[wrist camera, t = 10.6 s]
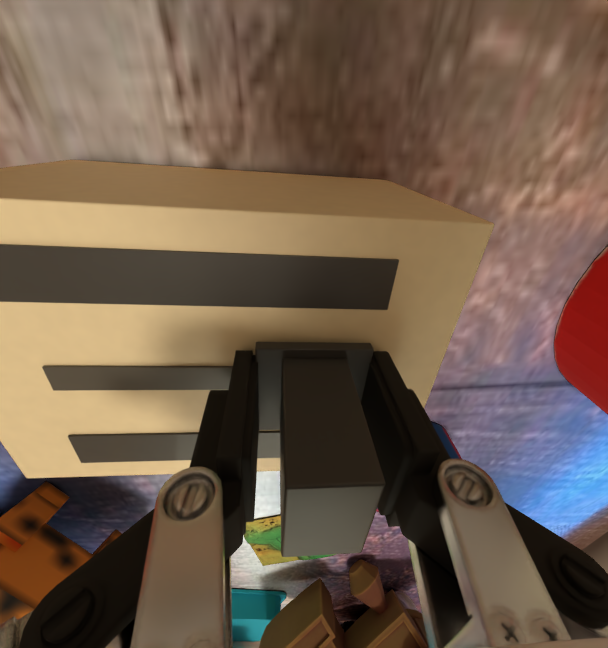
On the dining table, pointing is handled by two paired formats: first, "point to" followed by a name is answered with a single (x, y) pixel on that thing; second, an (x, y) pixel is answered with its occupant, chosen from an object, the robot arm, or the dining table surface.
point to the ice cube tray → (253, 612)
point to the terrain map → (270, 541)
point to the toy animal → (36, 552)
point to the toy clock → (586, 334)
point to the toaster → (201, 297)
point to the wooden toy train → (367, 631)
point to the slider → (320, 443)
